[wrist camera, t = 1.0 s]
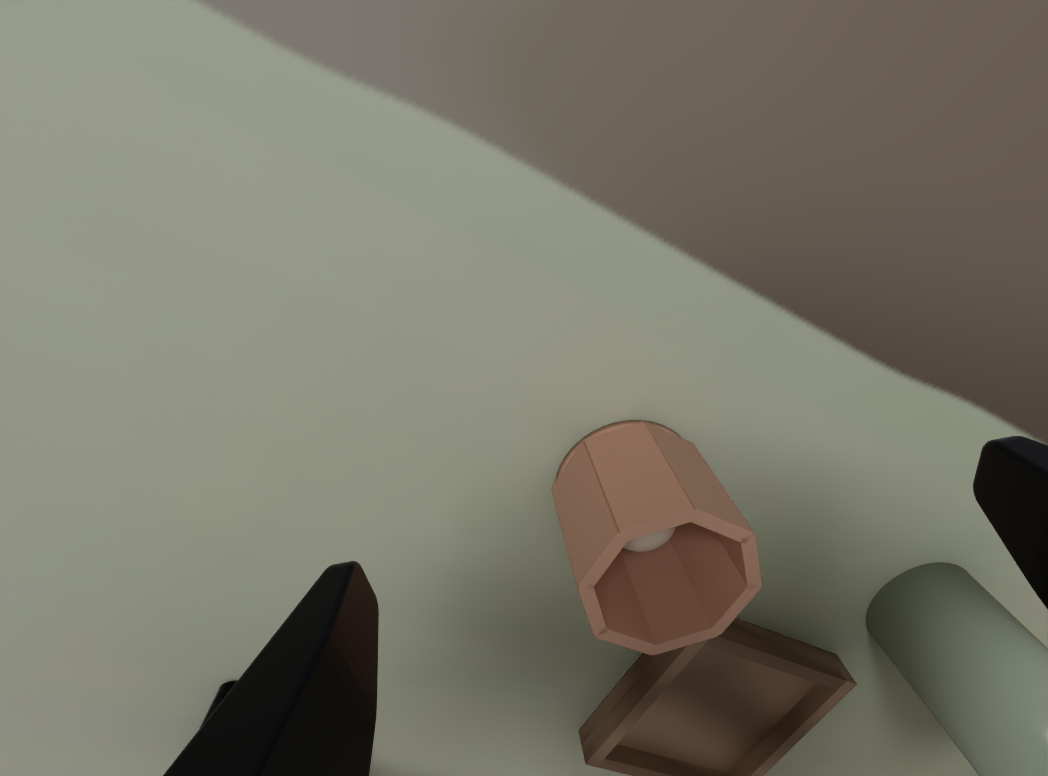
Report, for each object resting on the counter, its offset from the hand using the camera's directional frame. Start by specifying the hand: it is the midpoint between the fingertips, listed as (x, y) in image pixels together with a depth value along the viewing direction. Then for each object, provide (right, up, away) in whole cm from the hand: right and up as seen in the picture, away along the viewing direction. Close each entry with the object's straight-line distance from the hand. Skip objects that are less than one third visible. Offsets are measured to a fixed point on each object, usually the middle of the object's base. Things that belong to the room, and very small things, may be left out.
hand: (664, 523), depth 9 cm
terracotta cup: (+2, -2, +17) cm, 17 cm away
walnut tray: (+8, -14, +24) cm, 29 cm away
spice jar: (+18, -9, +23) cm, 31 cm away
